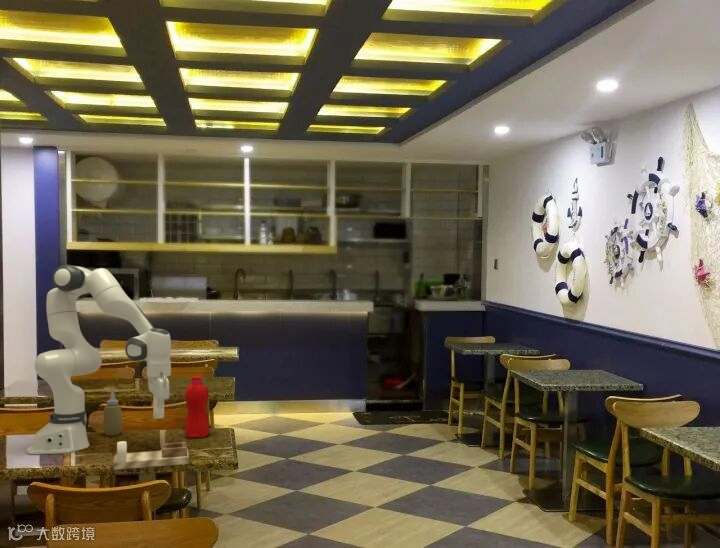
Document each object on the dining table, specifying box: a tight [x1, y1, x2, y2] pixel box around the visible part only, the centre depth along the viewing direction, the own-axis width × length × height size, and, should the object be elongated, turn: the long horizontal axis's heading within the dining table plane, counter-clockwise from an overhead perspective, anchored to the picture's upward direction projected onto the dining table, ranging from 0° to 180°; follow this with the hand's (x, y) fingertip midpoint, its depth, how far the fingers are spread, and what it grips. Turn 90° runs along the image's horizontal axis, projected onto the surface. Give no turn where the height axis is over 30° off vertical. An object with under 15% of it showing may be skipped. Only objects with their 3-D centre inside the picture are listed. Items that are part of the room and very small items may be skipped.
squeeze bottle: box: [102, 391, 124, 437], centre depth 301 cm, size 8×8×18 cm
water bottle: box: [184, 375, 213, 439], centre depth 298 cm, size 9×11×25 cm
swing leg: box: [116, 440, 128, 462], centre depth 255 cm, size 9×3×6 cm, turn 15°
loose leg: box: [152, 393, 165, 420], centre depth 273 cm, size 4×4×9 cm
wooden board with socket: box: [112, 441, 190, 471], centre depth 259 cm, size 26×12×5 cm, turn 106°
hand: (158, 406), depth 273 cm, fingers closed on loose leg, 4 cm apart
